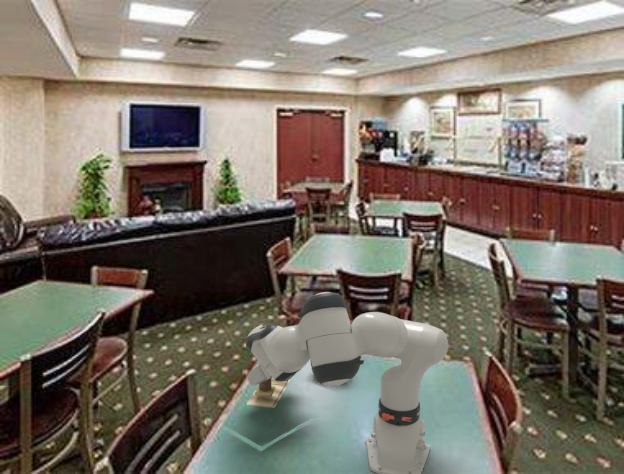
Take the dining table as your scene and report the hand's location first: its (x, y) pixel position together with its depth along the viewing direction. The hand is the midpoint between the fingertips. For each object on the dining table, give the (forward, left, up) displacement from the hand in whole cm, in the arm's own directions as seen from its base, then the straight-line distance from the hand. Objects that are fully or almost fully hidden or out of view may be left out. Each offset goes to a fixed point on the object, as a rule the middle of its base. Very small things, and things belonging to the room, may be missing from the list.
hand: (263, 378), depth 179 cm
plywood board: (+5, 0, -8) cm, 10 cm away
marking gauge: (0, -1, -5) cm, 5 cm away
